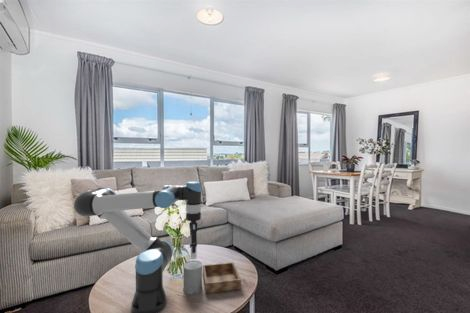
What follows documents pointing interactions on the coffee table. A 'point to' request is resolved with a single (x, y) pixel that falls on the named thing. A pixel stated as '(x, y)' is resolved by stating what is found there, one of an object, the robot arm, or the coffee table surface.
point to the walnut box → (221, 278)
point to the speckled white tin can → (192, 277)
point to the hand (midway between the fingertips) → (192, 252)
